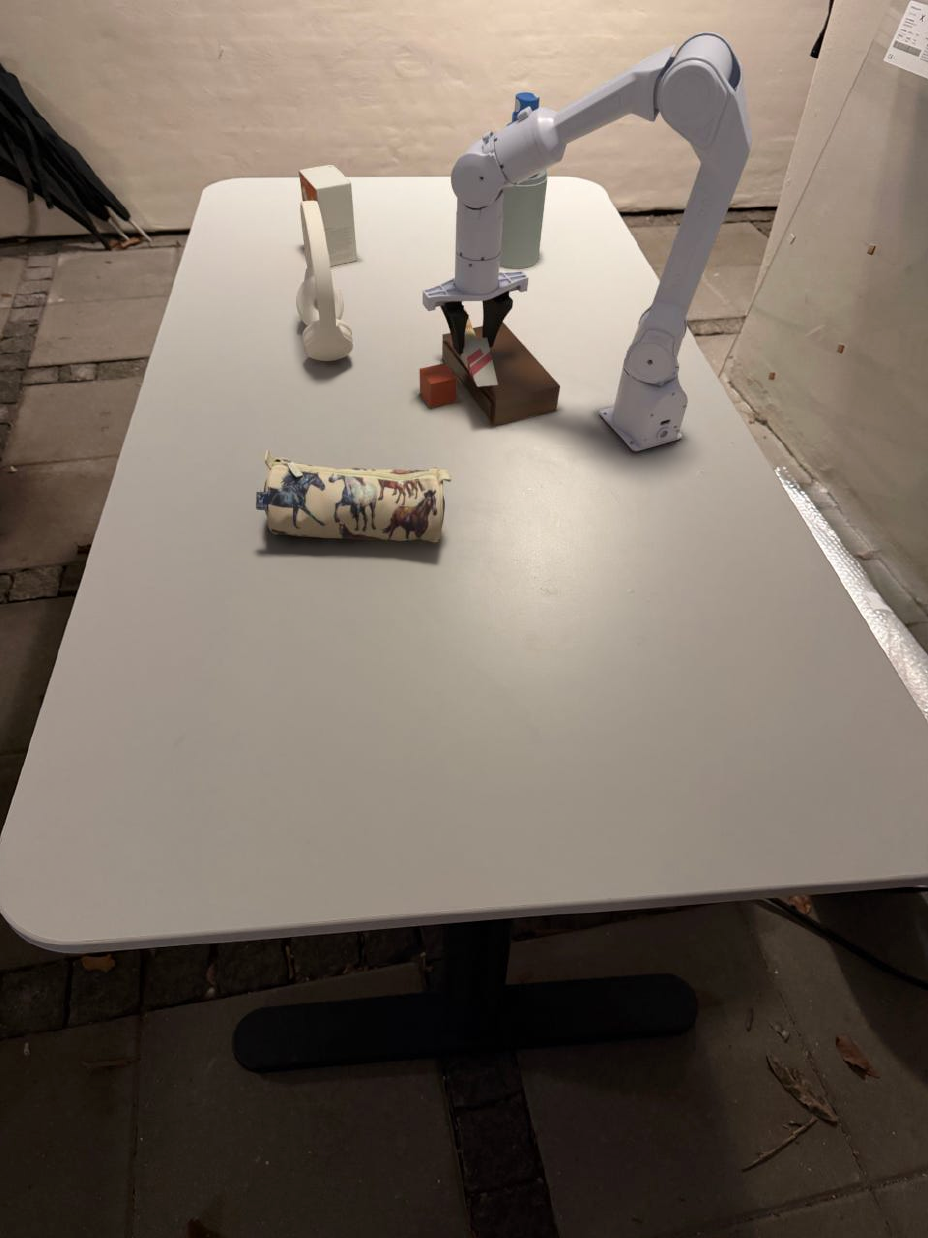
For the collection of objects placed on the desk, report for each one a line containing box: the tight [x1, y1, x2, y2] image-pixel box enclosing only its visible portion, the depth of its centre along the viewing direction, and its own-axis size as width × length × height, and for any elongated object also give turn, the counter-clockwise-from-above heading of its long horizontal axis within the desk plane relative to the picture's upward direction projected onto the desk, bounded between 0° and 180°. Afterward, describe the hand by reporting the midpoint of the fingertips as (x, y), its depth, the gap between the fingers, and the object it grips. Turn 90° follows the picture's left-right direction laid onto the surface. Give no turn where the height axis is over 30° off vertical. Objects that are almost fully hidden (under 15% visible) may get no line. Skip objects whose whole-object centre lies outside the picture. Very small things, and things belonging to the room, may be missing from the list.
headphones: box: [295, 201, 354, 362], centre depth 111 cm, size 7×18×20 cm, turn 13°
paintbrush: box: [461, 308, 498, 387], centre depth 109 cm, size 4×3×20 cm
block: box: [419, 362, 458, 409], centre depth 110 cm, size 4×4×4 cm
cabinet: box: [441, 321, 561, 427], centre depth 112 cm, size 18×11×4 cm, turn 25°
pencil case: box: [255, 449, 452, 543], centre depth 90 cm, size 22×8×10 cm, turn 88°
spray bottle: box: [499, 91, 548, 270], centre depth 129 cm, size 9×9×25 cm
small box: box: [298, 164, 358, 267], centre depth 132 cm, size 8×6×13 cm
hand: (473, 346), depth 109 cm, fingers closed on paintbrush, 4 cm apart
